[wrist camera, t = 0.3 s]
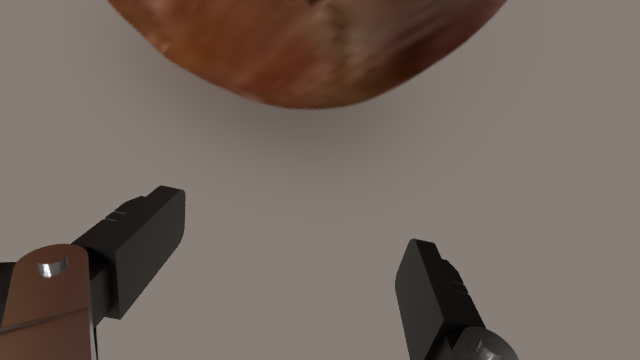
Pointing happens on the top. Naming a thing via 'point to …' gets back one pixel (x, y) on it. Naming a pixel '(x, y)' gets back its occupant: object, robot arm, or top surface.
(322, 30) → the top surface
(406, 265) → the robot arm
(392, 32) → the top surface
